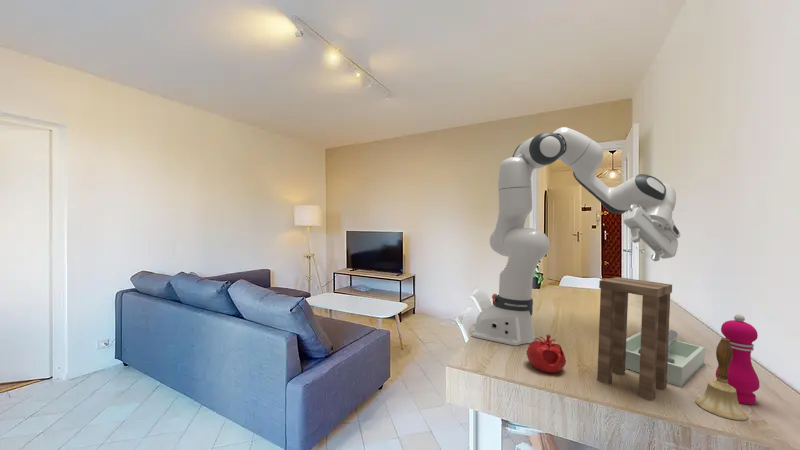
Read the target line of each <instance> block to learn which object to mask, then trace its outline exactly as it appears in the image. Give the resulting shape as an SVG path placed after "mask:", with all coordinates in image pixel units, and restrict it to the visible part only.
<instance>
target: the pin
mask: <svg viewBox="0 0 800 450" xmlns="http://www.w3.org/2000/svg"><path fill="white" fill-rule="evenodd" d="M678 335H679V334H678V333H677V331H676V330H671V329H669V340H668V349H669V348H670V347H671V345H672V344H673V342H674V341H675V340H676V339H677V338H678ZM640 350H641V349H639V351H638V353H639V354H640ZM668 362H669V363H673V364H675V360H674V359H671V358H668Z"/></svg>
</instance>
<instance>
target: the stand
mask: <svg viewBox="0 0 800 450" xmlns="http://www.w3.org/2000/svg"><path fill="white" fill-rule="evenodd" d="M598 282H599V284H598V288H599V289H600V300H599V319H598V320H599V323H598V325H599V326H598V327H599V328H598V347H597V349H598V350H597V351H598V352H597V373H596V376H597V377H596V380H597V381H599V382H601V383H603V384H606V385H609V384H610V383H612V382H613V373H614V372H615V373H614V374H617V373H618V375H620V374H621V376H622V375H624V374H625V373H626V368H625V362H626V339H627V334H628V332H627V331H628V311H629V310H628V309H629V308H628V307H629V304H628V303H629V294H632V295H638V296H642V300H641V301H642V302H641V303H642V304H641V306H642V307H641V309H642V310H641V329H640V332H641V350H640V373H639V375H638V376H639V377H638V379H639V380H638V383H639V384H638V397H640V398H643V399H646V400H648V401H651V402H652V401H654V400H655V399H656V388H657V387H658V388H657V389H660V390H663V391H664V390H666V389H667V387H668V386H667V384H668V383H667V364H668V340H669V331H670V313H671V312H670V309H671V294H672V293H673V284H670V283H663V282H654V281H648V280H643V279H642V280H641V279H633V278H626V277H619V276H616V277H611V278H607V279H600V280H599V281H598Z"/></svg>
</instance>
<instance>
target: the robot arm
mask: <svg viewBox="0 0 800 450" xmlns="http://www.w3.org/2000/svg"><path fill="white" fill-rule="evenodd" d="M603 158H604V151H603V147H602V146H601V145H600V144H599V143H598V142H597V141H595V140H594V139H592V138H590V137H589V136H587V135H585V134H583V133H581V132H580V131H577V130H575V129H572V128H569V127H566V126H562V127H559V128H557V129H555V130H554V131H553V132H542V133H538V134H537V135H535V136H532V137H530V138H528V139H526V140H525V141H523V142H522V143H520V144H519V145H518V146H517V147H516V148H515V150H514V151H513V155H512V156H511V157H508V158H506V159H504V160H503V161H501V163H500V166H499V170H498V179H497V180H498V181H497V182H498V183H497V184H498V185H497V186H498V187H497V188H498V214H497V221H496V224H495V228H494V231H492V233H491V234H490V237H489V245H490V248H491V249H492V250H493V252H496V254H499V255H500V256H504V257H506V258H507V257H508V259H507V262H506V265H505V267H504V269H502V271H500V273H499V280H498V281H499V282H498V283H499V284H498V286H499V287H498V294H497V293H493V294H492V295H491V298H492V305H490V306H488V307H487V308H485V309H483V310H481V312H480V313H478V315H477V317H476V321H475V323H473V324H472V325H470V327H469V335H470V336H471V337H473V338H477V339H482V340H487V341H491V342H496V343H500V344H506V345H510V346H520V345H524V344H525V345H526V344H530V343H531V342H535V341H536V336H535V333H534V328H533V327H534V326H533V312H534V298H532V295H533V282H534V281H533V280H534V275H535V271H536V269H537V266H538V264H539V262H540V261H541V260H542V259H543V258H544V257H545V256H546V255H547V254H548V252H549V250H550V241H549V238H548V236H547V235H546V233H545V232H542V231H540V230H538V229H536V228H535V229H534V228H532V227H531V228H530V227H525V224H526V223H525V222H526V220H527V217H528V215H529V214H530V213H531V212H532V210H533V194H532V192H533V191H532V180H531V178H532V173H533V171H534V169H535V170H536V169H541V168H544V167H546V166H548V165H551V164H553V163H555V162H556V161H557V160H559V161H561V162H562V163H564V164H565V165H567V166H568V167H570V168H571V170H572V171H573V172H572V175H573V177H574V179H575V180H576V181H577V183H578V184H580V185H581V186H582V187H583V188H584V189H585V190H586V191H588V193H590V195H592V196H593V197H595V198H596V199H597V200H598V201H599V203H600V204H602V206H603V207H604V208H605V209H606V210H607V211H608V212H610V213H612V214H614V215H623V214H625V216H624V218H623V224H624V225H626V227H628V228H629V229H630V234H631V240H630V241H632V242H633V243H634V244H636V243H639V242H640V241H642V242H644V243H645V244H646V245H647V246H648V247H649V248H650V249H651V250H652V251H654V254H651V257H650V259H651V260H652V261H653V262H658V261H660V260H661V259H663V260H664V259H665V260H666V259H670V258H673V257H675V256H676V254H677V251H678V246H679V240H678V238H681V232H680V231H679V229H678V227H677V226H676V224H675V222H674V219H673V211H674V209H675V207H676V204H677V194H676V190H675V188H674V187H673V186H672V185H670V184H669V183H666V182H665V183H664V182H662V181H661V180H659V179H658V178H656V177H655V176H652V175H650V174H646V173H641V174H637V175H635V176H633V177H632V178H629V179H628V180H626V181H624V182H623V183H621V184H619V185H617V186H613V187H609V186H607V184H605V183H604V182H603V181H602V180H600V178H598V177H597V175H596V174H595V173H596V172H597V171H598V169H599V168H600V166H601V164H602V162H603Z"/></svg>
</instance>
